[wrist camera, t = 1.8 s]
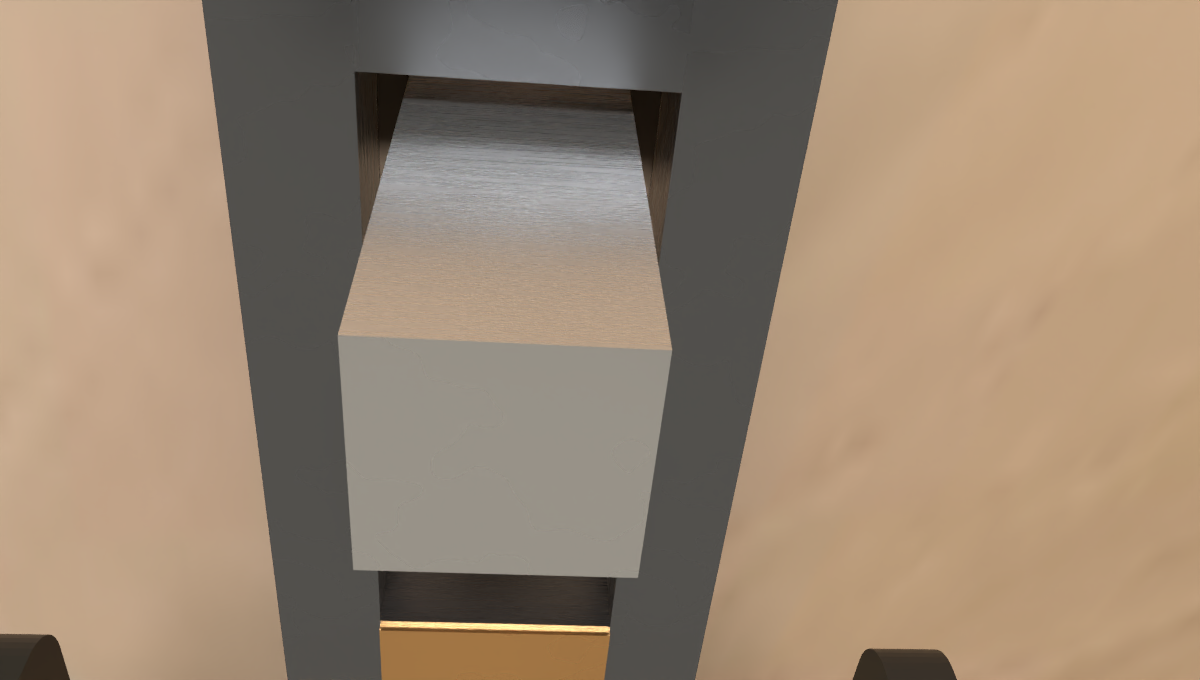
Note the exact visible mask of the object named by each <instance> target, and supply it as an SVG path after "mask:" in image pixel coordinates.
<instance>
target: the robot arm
mask: <svg viewBox="0 0 1200 680" xmlns="http://www.w3.org/2000/svg"><path fill="white" fill-rule="evenodd" d="M0 680H70V678H69V675H68V672H67V668H66V665H65V662H64V658H63V655H62V652H61V649H60V646H59V643H58V641H57V640H56V638H55V637H54V636H52V635H34V634H0ZM853 680H957V679H956V676H955V674H954V671H953V669H952V666H951V664H950V662H949V661H948V659H947V657H946V656H945V655H944V654H943V653H942V652H941V651H939V650H928V649H867V650H865V651H864V653H863V654H862V656H861V658H860V660H859V663H858V666H857V669H856V672H855V675H854V677H853Z"/></svg>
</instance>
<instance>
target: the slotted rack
mask: <svg viewBox="0 0 1200 680" xmlns="http://www.w3.org/2000/svg"><path fill="white" fill-rule="evenodd" d="M837 3H838V0H202V4H203V12H204V20H205V28H206V36H207V44H208V52H209V60H210V68H211V76H212V84H213V92H214V99H215V107H216V115H217V123H218V131H219V139H220V147H221V155H222V163H223V171H224V179H225V187H226V194H227V202H228V210H229V218H230V226H231V234H232V242H233V250H234V258H235V266H236V274H237V282H238V290H239V297H240V305H241V313H242V321H243V329H244V337H245V345H246V353H247V361H248V369H249V377H250V385H251V392H252V400H253V408H254V416H255V424H256V432H257V440H258V448H259V456H260V464H261V472H262V480H263V487H264V495H265V503H266V511H267V519H268V527H269V535H270V543H271V551H272V559H273V567H274V575H275V582H276V590H277V598H278V606H279V614H280V622H281V630H282V638H283V646H284V654H285V662H286V670H287V677H288V680H695V677H696V672H697V667H698V662H699V658H700V653H701V648H702V643H703V639H704V634H705V629H706V624H707V620H708V615H709V610H710V605H711V601H712V596H713V591H714V586H715V582H716V577H717V572H718V567H719V563H720V558H721V553H722V548H723V544H724V539H725V534H726V529H727V525H728V520H729V515H730V510H731V506H732V501H733V496H734V492H735V487H736V482H737V477H738V473H739V468H740V463H741V458H742V454H743V449H744V444H745V439H746V435H747V430H748V425H749V420H750V416H751V411H752V406H753V401H754V397H755V392H756V387H757V382H758V378H759V373H760V368H761V363H762V359H763V354H764V349H765V344H766V340H767V335H768V330H769V325H770V321H771V316H772V311H773V307H774V302H775V297H776V292H777V288H778V283H779V278H780V273H781V269H782V264H783V259H784V254H785V250H786V245H787V240H788V235H789V231H790V226H791V221H792V216H793V212H794V207H795V202H796V197H797V193H798V188H799V183H800V178H801V174H802V169H803V164H804V159H805V155H806V150H807V145H808V141H809V136H810V131H811V126H812V122H813V117H814V112H815V107H816V103H817V98H818V93H819V88H820V84H821V79H822V74H823V69H824V65H825V60H826V55H827V50H828V46H829V41H830V36H831V31H832V27H833V22H834V17H835V12H836V8H837ZM376 73H386V74H401V75H417V76H432V77H447V78H463V79H478V80H493V81H509V82H524V83H539V84H554V85H570V86H585V87H600V88H616V89H631V90H646V91H662V95H661V103H660V111H659V119H658V127H657V136H656V144H655V152H654V160H653V168H652V176H651V184H650V192H649V200H648V205H649V211H650V217H651V223H652V230H653V236H654V242H655V248H656V254H657V260H658V266H659V272H660V278H661V285H662V291H663V297H664V303H665V309H666V315H667V321H668V327H669V333H670V340H671V346H672V355H671V362H670V369H669V375H668V382H667V388H666V395H665V402H664V408H663V415H662V422H661V428H660V435H659V441H658V448H657V455H656V461H655V468H654V475H653V481H652V488H651V494H650V501H649V508H648V514H647V521H646V527H645V534H644V541H643V547H642V554H641V561H640V567H639V574H638V578H621V577H585V576H549V575H513V574H478V573H442V572H406V571H370V570H353V558H352V543H351V528H350V513H349V497H348V482H347V467H346V452H345V437H344V422H343V407H342V392H341V377H340V362H339V346H338V332H339V329H340V325H341V322H342V318H343V314H344V311H345V307H346V303H347V300H348V296H349V293H350V289H351V285H352V282H353V278H354V275H355V271H356V267H357V264H358V260H359V256H360V253H361V249H362V246H363V242H364V238H365V235H366V231H367V227H368V224H369V220H370V217H371V213H372V209H373V206H374V202H375V198H376V195H377V191H378V188H379V184H380V166H379V138H378V110H377V81H376Z"/></svg>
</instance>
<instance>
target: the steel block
mask: <svg viewBox="0 0 1200 680" xmlns="http://www.w3.org/2000/svg"><path fill="white" fill-rule="evenodd" d="M338 346H339V362H340V377H341V392H342V407H343V422H344V437H345V452H346V467H347V482H348V497H349V513H350V528H351V543H352V558H353V570H370V571H406V572H442V573H478V574H513V575H549V576H585V577H621V578H638V574H639V567H640V561H641V554H642V547H643V541H644V534H645V527H646V521H647V514H648V508H649V501H650V494H651V488H652V481H653V475H654V468H655V461H656V455H657V448H658V441H659V435H660V428H661V422H662V415H663V408H664V402H665V395H666V388H667V382H668V375H669V369H670V362H671V355H672V346H671V340H670V333H669V327H668V321H667V315H666V309H665V303H664V297H663V291H662V285H661V278H660V272H659V266H658V260H657V254H656V248H655V242H654V236H653V230H652V223H651V217H650V211H649V205H648V199H647V193H646V187H645V181H644V175H643V168H642V162H641V156H640V150H639V144H638V138H637V132H636V126H635V119H634V113H633V107H632V101H631V95H630V89H616V88H600V87H585V86H570V85H554V84H539V83H524V82H509V81H493V80H478V79H463V78H447V77H432V76H417V75H409V79H408V83H407V86H406V90H405V93H404V97H403V101H402V104H401V108H400V112H399V115H398V119H397V122H396V126H395V130H394V133H393V137H392V141H391V144H390V148H389V151H388V155H387V159H386V162H385V166H384V170H383V173H382V177H381V180H380V184H379V188H378V191H377V195H376V198H375V202H374V206H373V209H372V213H371V217H370V220H369V224H368V227H367V231H366V235H365V238H364V242H363V246H362V249H361V253H360V256H359V260H358V264H357V267H356V271H355V275H354V278H353V282H352V285H351V289H350V293H349V296H348V300H347V303H346V307H345V311H344V314H343V318H342V322H341V325H340V329H339V332H338Z"/></svg>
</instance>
